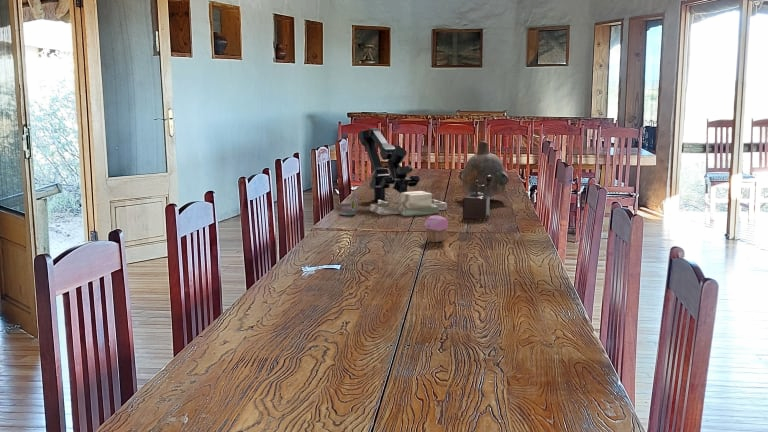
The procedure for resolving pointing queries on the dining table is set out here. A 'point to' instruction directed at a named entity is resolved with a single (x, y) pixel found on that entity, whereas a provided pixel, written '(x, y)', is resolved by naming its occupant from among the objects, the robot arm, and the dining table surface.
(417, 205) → the birch block
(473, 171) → the jug
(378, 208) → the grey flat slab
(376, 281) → the dining table surface
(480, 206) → the manual coffee grinder
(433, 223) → the cupcake
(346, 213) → the pocket watch
